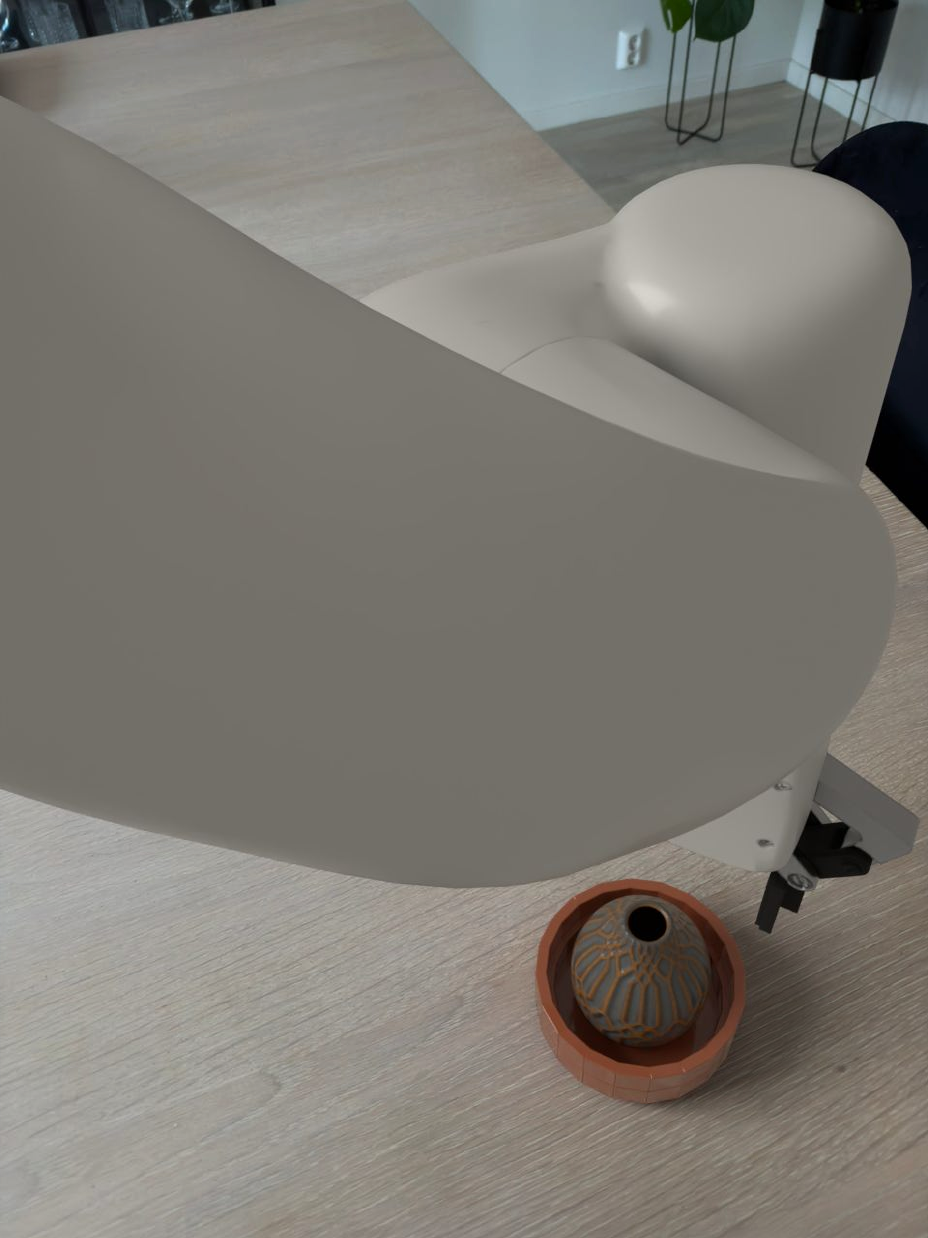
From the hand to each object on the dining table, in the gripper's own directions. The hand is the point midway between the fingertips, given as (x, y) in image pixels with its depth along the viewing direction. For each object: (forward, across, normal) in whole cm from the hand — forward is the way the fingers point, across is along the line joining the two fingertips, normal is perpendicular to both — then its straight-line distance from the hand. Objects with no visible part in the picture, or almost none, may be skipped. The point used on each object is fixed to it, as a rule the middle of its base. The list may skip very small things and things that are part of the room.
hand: (662, 857), depth 47 cm
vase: (+15, 0, 0) cm, 15 cm away
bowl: (+15, 0, 0) cm, 15 cm away
